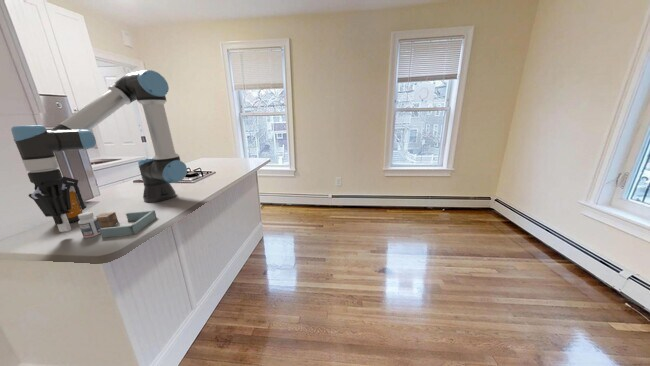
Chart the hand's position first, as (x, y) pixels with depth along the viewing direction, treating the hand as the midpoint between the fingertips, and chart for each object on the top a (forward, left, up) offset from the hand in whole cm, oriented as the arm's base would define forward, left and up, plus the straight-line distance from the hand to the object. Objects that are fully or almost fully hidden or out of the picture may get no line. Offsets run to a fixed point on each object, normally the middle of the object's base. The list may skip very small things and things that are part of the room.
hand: (65, 230), depth 88 cm
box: (-4, +20, -3) cm, 20 cm away
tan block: (-8, +8, -3) cm, 12 cm away
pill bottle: (0, +8, -3) cm, 9 cm away
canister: (-19, -13, -3) cm, 23 cm away
